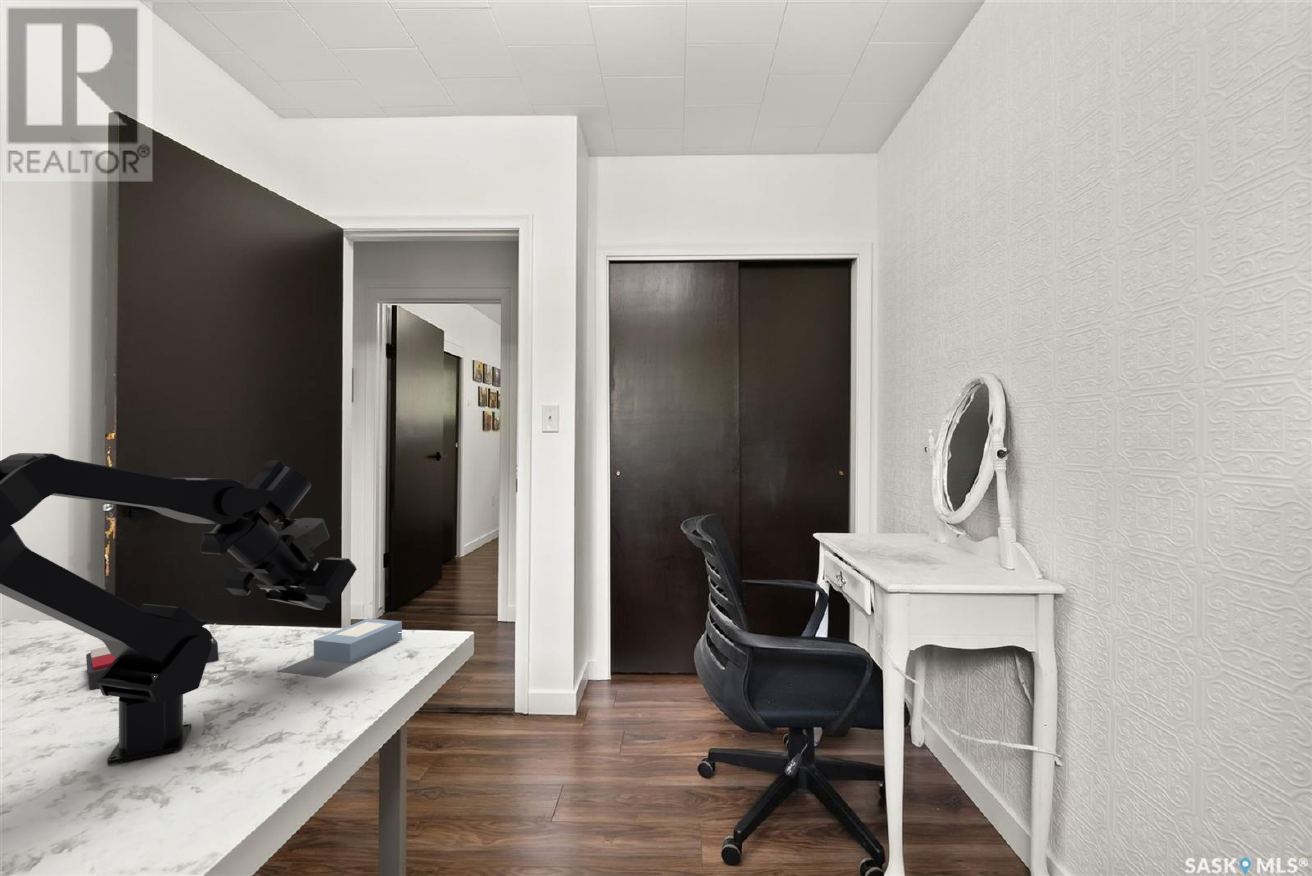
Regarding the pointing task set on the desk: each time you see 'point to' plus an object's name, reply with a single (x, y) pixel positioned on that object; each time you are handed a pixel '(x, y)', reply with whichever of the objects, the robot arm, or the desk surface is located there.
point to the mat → (323, 665)
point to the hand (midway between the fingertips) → (322, 607)
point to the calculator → (103, 658)
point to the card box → (357, 640)
